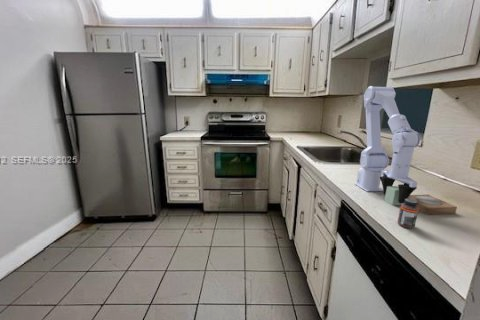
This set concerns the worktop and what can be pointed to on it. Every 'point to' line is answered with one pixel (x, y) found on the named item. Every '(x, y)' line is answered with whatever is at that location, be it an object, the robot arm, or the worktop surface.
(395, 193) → the sage block
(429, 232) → the worktop surface
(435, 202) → the walnut base
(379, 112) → the robot arm
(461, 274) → the worktop surface
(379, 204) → the worktop surface
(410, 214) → the supplement bottle
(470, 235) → the worktop surface
